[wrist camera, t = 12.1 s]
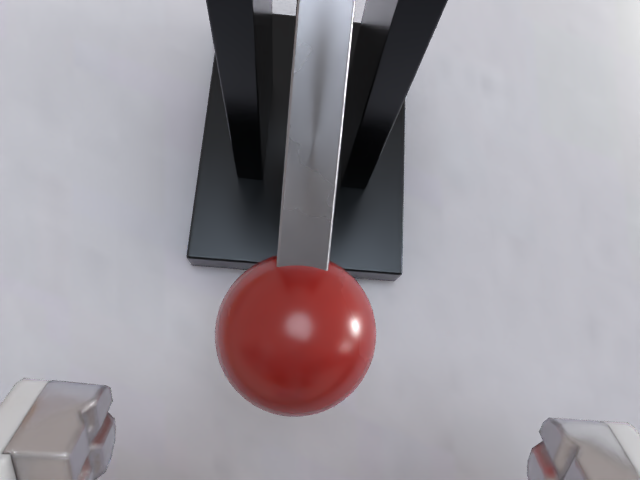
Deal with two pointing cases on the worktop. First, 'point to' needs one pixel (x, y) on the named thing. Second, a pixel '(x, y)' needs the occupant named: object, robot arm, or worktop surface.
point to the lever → (303, 249)
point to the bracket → (271, 130)
